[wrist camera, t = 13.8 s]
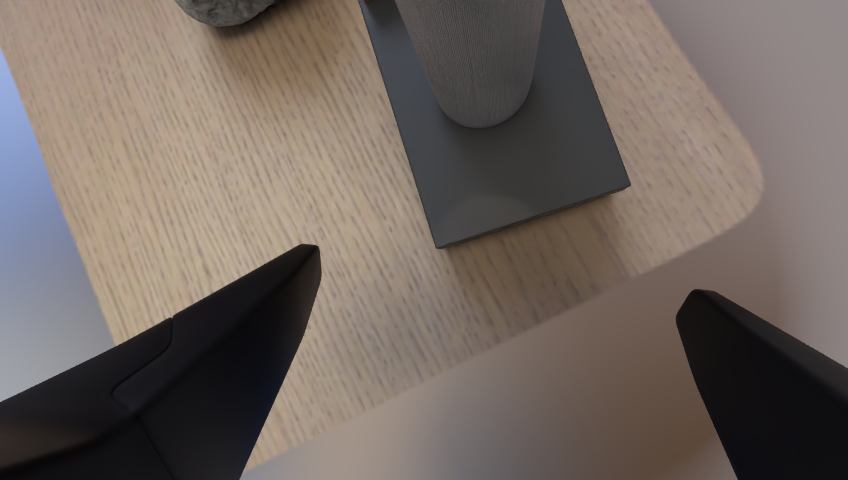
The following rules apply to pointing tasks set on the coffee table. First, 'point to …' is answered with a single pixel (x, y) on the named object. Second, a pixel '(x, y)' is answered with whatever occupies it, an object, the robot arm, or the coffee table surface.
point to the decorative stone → (223, 10)
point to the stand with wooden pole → (500, 136)
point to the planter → (476, 54)
